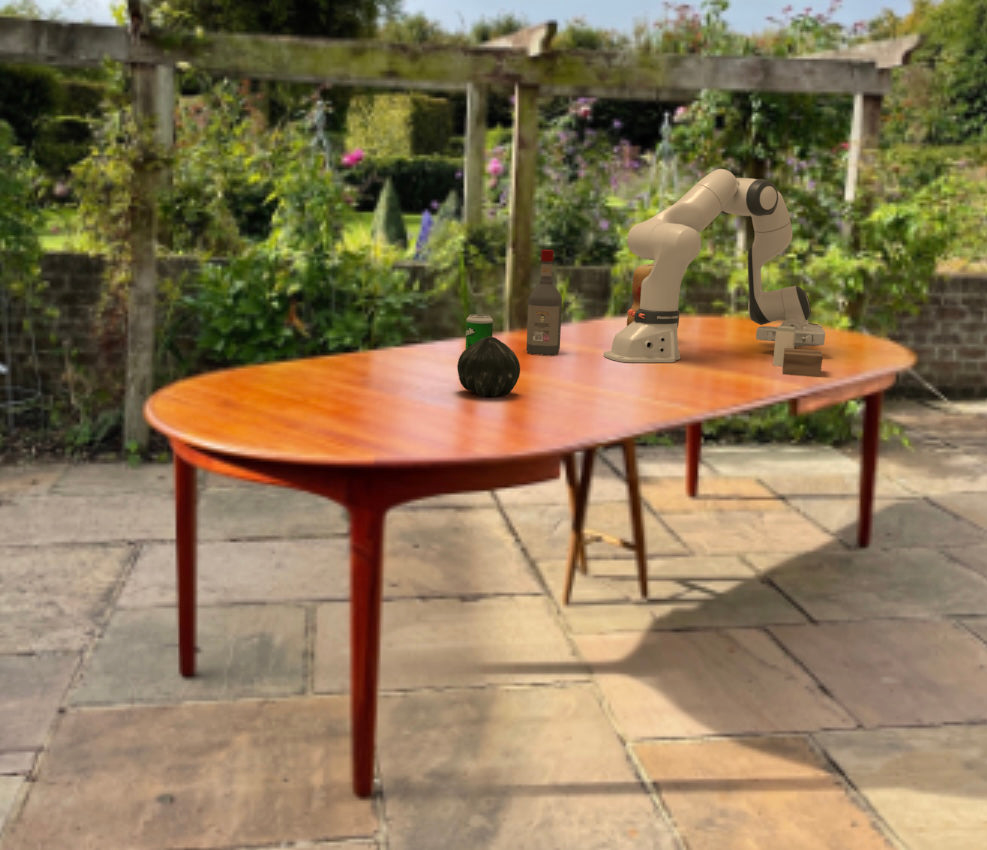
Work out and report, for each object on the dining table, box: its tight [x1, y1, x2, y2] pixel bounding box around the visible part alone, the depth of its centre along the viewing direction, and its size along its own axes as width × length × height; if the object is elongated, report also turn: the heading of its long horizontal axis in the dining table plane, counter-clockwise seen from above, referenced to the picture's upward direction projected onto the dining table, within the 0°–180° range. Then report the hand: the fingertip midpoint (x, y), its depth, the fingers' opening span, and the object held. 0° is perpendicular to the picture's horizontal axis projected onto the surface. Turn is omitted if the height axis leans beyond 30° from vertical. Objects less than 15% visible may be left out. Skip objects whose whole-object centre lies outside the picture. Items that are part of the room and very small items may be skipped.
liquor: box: [525, 249, 563, 356], centre depth 319 cm, size 9×9×30 cm
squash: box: [457, 336, 521, 398], centre depth 260 cm, size 14×15×15 cm
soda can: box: [465, 313, 494, 350], centre depth 309 cm, size 8×8×12 cm
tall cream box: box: [772, 325, 796, 368], centre depth 314 cm, size 5×5×11 cm
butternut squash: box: [626, 262, 654, 327], centre depth 346 cm, size 14×13×25 cm
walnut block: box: [782, 348, 823, 378], centre depth 303 cm, size 10×10×6 cm
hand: (788, 338), depth 325 cm, fingers open, 8 cm apart
